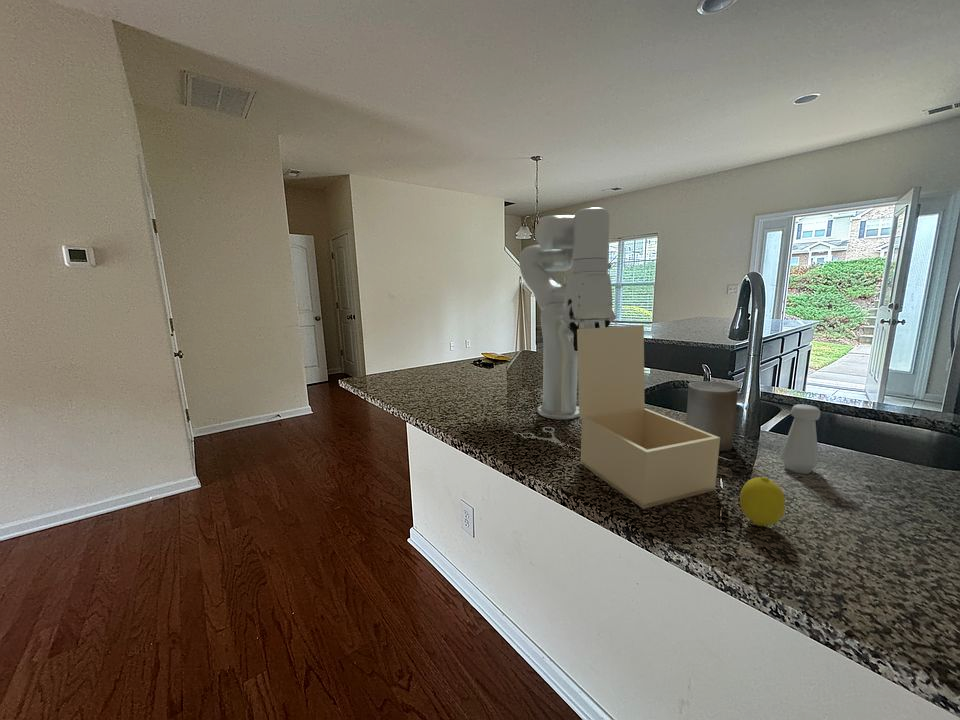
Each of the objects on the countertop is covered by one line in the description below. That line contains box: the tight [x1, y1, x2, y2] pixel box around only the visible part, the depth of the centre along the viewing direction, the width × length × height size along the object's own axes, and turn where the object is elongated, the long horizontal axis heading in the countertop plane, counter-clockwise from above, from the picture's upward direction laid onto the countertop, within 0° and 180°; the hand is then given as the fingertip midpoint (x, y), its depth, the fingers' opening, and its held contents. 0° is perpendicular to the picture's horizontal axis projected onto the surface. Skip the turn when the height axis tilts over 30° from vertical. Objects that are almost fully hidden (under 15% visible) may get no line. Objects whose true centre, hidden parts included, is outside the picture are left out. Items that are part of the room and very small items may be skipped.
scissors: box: [512, 426, 581, 459], centre depth 93 cm, size 11×1×20 cm
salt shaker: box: [780, 403, 821, 475], centre depth 76 cm, size 6×6×13 cm
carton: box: [580, 407, 720, 510], centre depth 74 cm, size 18×16×10 cm
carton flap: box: [577, 324, 646, 419], centre depth 85 cm, size 18×16×8 cm
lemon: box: [739, 476, 786, 527], centre depth 59 cm, size 6×6×8 cm
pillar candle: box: [685, 380, 739, 452], centre depth 89 cm, size 10×10×15 cm
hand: (588, 349), depth 89 cm, fingers closed on carton flap, 4 cm apart
